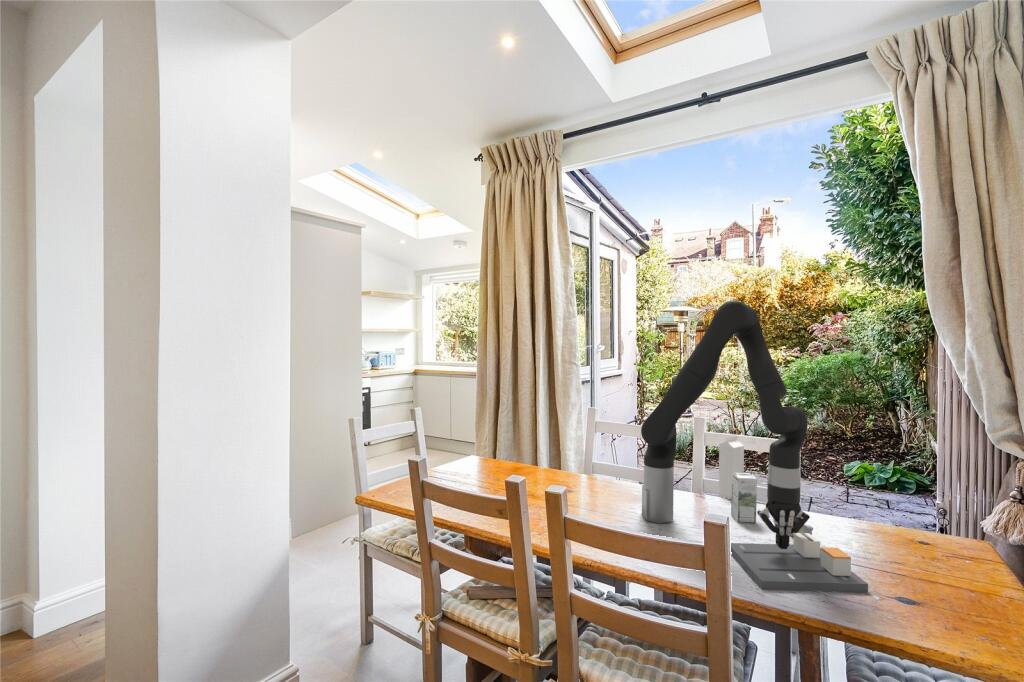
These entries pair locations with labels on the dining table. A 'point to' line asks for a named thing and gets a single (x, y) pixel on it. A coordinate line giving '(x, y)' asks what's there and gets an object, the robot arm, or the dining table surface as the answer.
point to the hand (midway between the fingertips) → (782, 547)
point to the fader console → (790, 570)
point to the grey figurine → (805, 529)
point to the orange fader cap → (835, 561)
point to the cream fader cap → (806, 545)
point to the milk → (729, 464)
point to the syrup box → (744, 497)
